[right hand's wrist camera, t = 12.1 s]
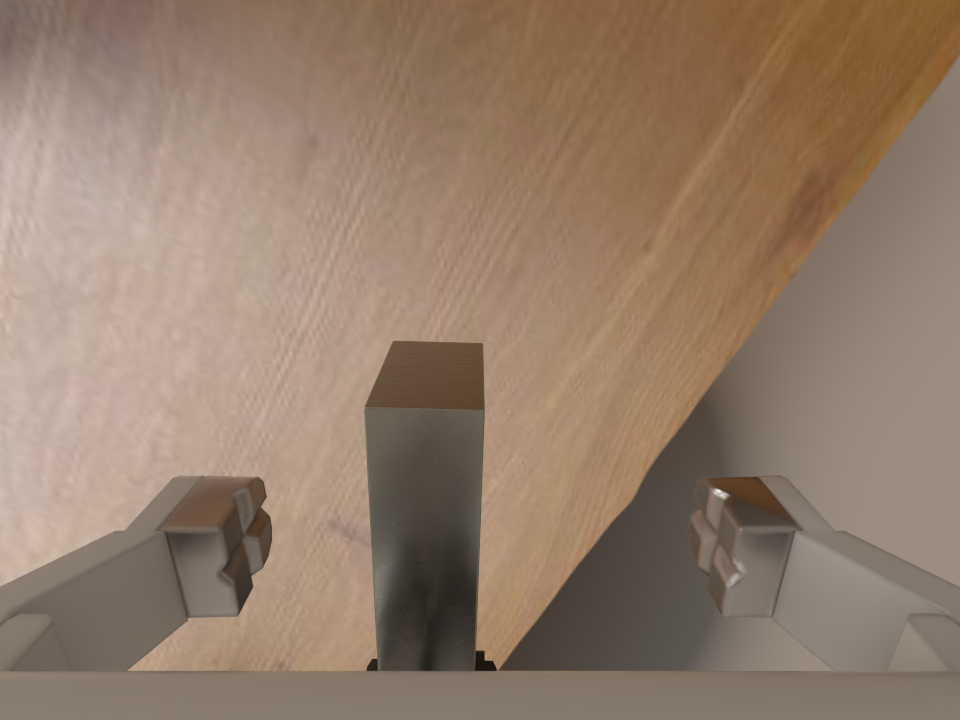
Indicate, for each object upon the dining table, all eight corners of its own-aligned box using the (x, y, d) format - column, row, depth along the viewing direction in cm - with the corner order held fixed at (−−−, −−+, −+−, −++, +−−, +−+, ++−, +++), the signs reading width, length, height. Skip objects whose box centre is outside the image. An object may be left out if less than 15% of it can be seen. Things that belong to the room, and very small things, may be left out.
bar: (392, 340, 29) (363, 406, 21) (483, 342, 29) (484, 410, 22) (402, 656, 37) (383, 781, 30) (472, 657, 37) (470, 782, 30)
